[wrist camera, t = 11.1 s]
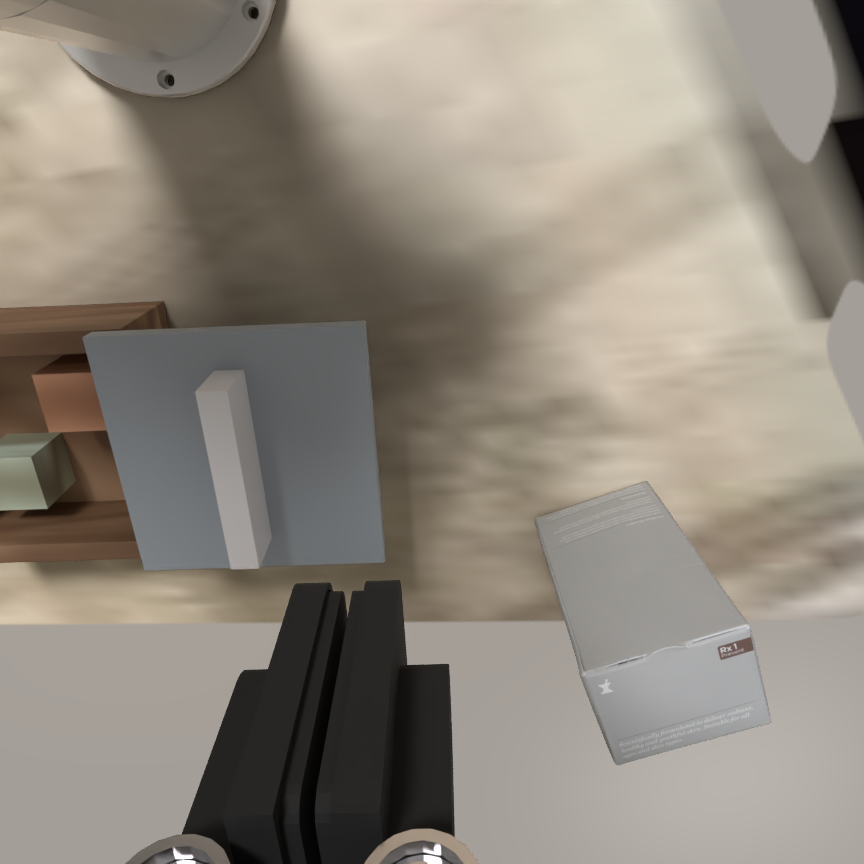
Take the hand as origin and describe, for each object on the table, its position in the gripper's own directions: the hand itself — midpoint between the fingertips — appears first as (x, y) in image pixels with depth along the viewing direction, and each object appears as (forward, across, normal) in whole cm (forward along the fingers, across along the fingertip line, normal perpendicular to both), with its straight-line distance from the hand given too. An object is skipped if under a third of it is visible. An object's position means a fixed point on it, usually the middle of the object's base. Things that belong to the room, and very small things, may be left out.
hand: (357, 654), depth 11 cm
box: (+31, +22, +8) cm, 39 cm away
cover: (+25, +9, +8) cm, 28 cm away
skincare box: (+31, -12, +18) cm, 38 cm away
